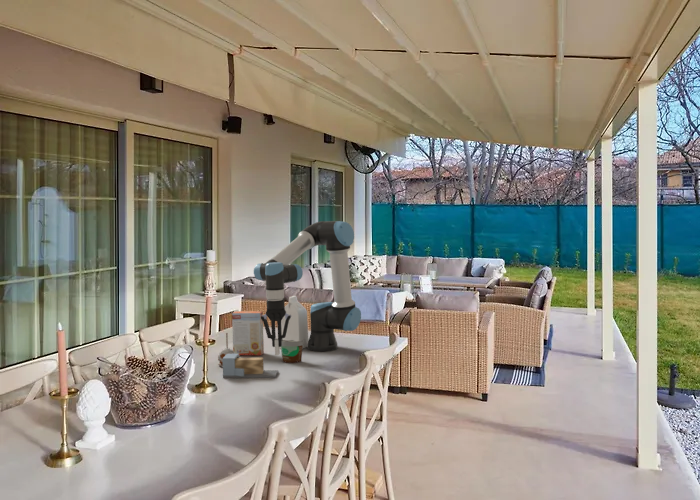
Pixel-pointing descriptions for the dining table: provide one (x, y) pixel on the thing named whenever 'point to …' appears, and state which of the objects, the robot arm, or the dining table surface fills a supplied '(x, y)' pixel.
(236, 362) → the oak slat
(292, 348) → the food container
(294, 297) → the milk
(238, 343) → the cracker box
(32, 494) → the dining table surface
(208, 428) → the dining table surface
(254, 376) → the board
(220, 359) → the decorative ornament
